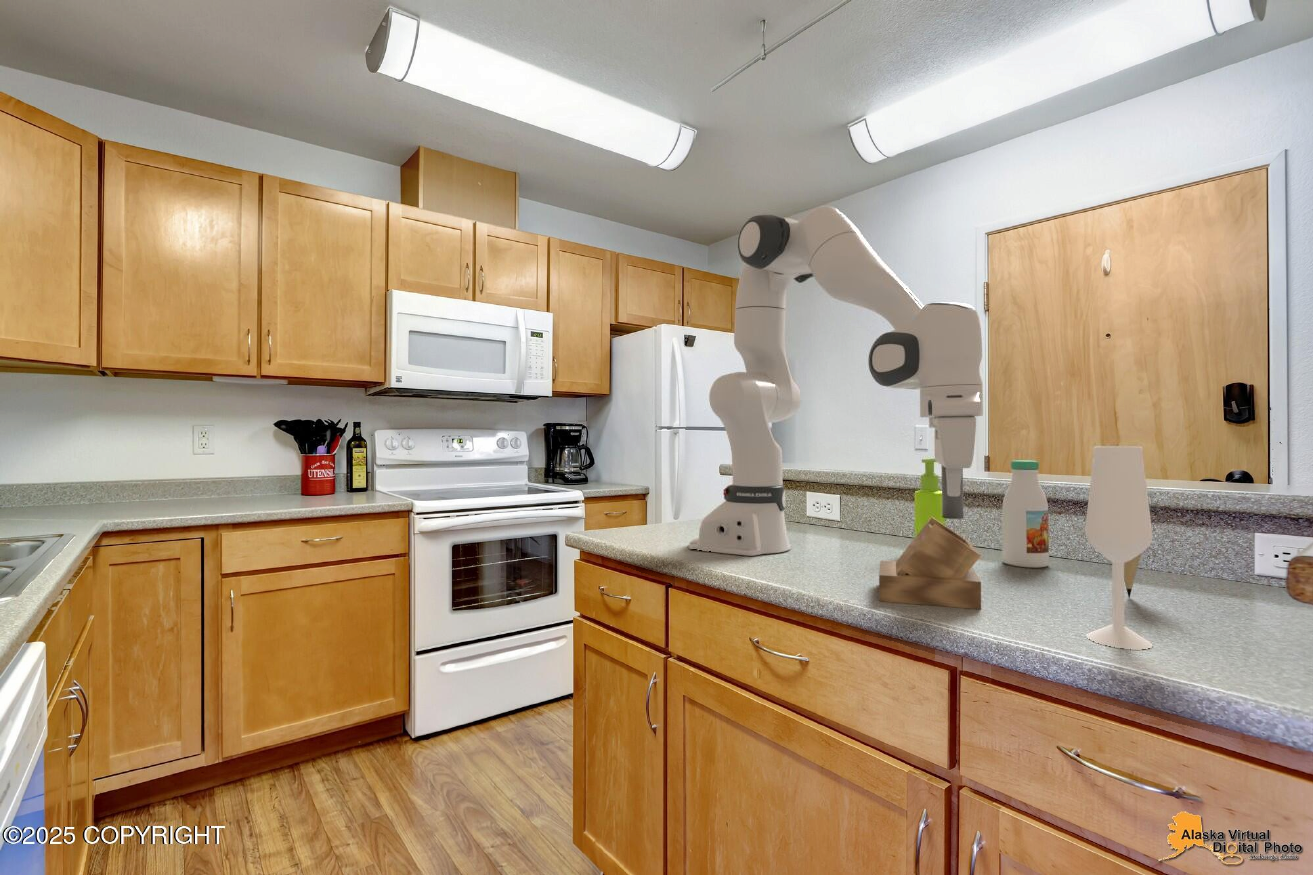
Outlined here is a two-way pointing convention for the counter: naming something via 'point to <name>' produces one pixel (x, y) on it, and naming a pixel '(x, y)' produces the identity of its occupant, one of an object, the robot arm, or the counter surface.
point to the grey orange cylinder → (951, 500)
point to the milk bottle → (1025, 518)
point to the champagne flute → (1118, 529)
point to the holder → (933, 571)
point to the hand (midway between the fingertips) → (952, 494)
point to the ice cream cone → (1130, 572)
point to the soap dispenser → (928, 498)
